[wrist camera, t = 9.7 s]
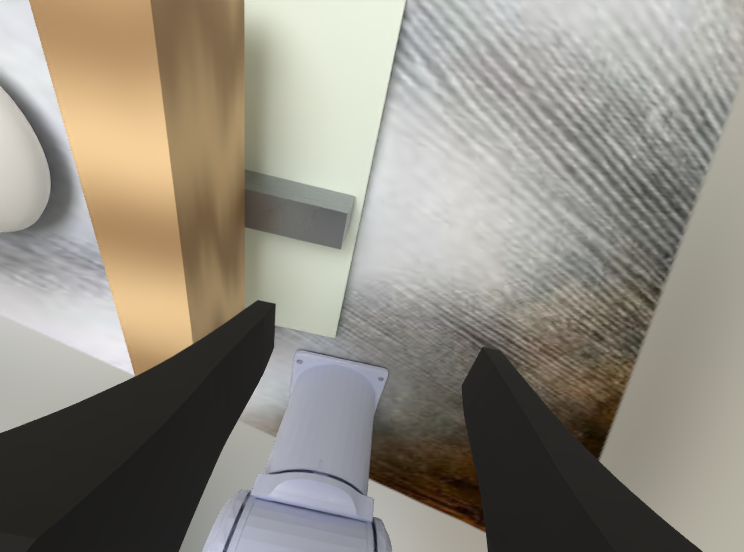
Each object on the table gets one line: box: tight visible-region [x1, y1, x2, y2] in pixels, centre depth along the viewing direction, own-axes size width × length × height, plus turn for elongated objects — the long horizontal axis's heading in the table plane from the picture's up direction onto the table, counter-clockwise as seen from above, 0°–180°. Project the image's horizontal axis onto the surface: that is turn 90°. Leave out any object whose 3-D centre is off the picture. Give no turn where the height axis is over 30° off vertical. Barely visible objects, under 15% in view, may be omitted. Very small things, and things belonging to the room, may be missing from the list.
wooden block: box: [29, 0, 245, 376], centre depth 13 cm, size 18×3×5 cm, turn 168°
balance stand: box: [244, 0, 406, 338], centre depth 17 cm, size 20×14×4 cm
